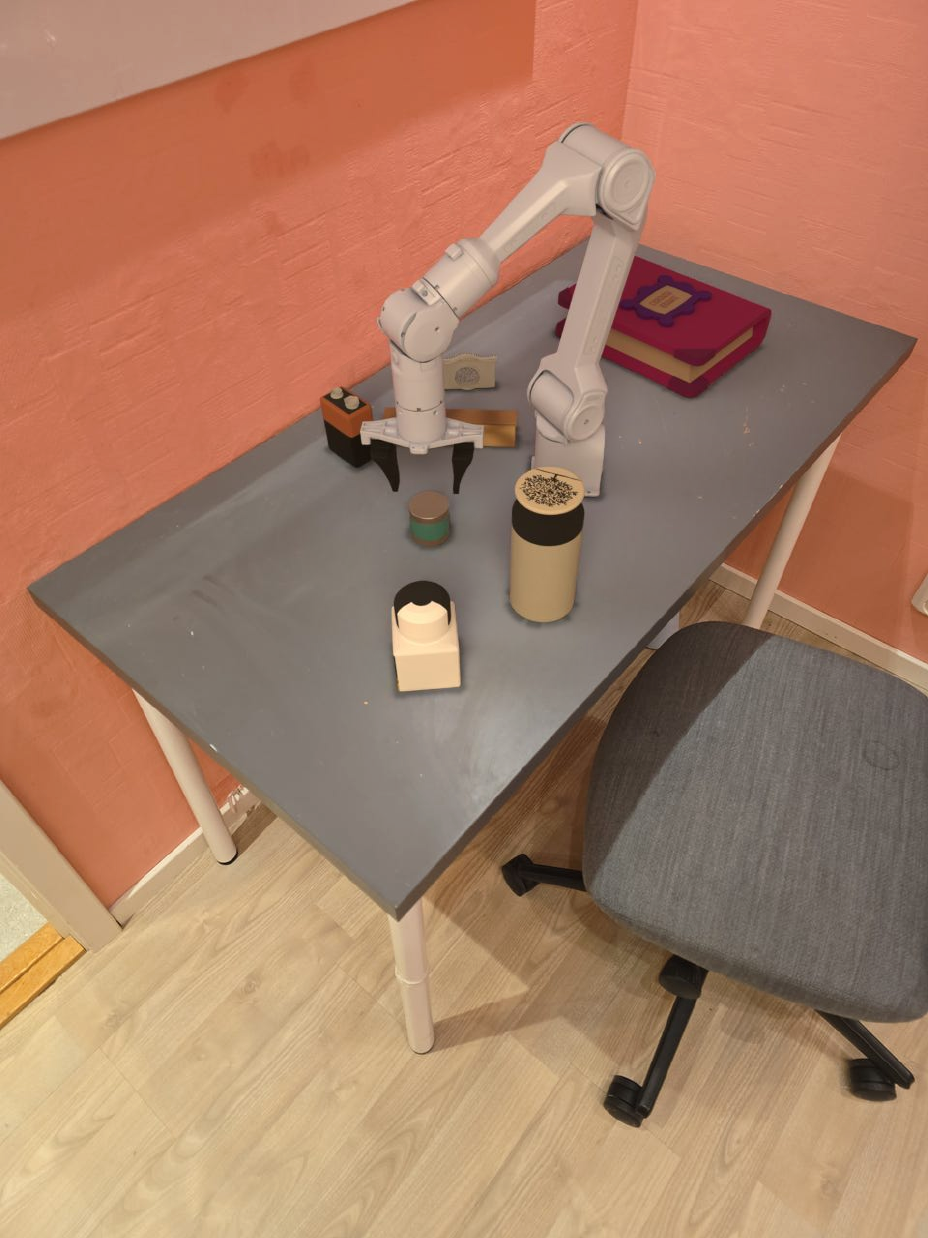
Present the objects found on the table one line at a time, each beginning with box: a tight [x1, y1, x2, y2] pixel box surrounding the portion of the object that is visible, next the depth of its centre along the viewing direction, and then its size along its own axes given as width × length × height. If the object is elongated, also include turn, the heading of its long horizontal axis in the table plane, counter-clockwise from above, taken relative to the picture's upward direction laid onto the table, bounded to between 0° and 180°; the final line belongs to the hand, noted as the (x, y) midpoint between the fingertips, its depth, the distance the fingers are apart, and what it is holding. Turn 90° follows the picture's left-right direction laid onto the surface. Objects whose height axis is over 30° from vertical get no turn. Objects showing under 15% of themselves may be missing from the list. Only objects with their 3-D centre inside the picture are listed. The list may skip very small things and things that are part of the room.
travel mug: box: [509, 467, 585, 623], centre depth 97 cm, size 8×8×18 cm
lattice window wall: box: [443, 352, 498, 391], centre depth 131 cm, size 12×2×6 cm, turn 92°
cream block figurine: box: [390, 580, 462, 692], centre depth 93 cm, size 7×7×12 cm
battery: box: [319, 385, 374, 469], centre depth 119 cm, size 4×7×10 cm, turn 43°
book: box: [555, 255, 773, 399], centre depth 137 cm, size 21×28×8 cm
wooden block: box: [381, 406, 519, 448], centre depth 123 cm, size 19×4×4 cm, turn 85°
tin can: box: [407, 490, 451, 547], centre depth 110 cm, size 5×5×5 cm
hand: (426, 487), depth 106 cm, fingers open, 7 cm apart
